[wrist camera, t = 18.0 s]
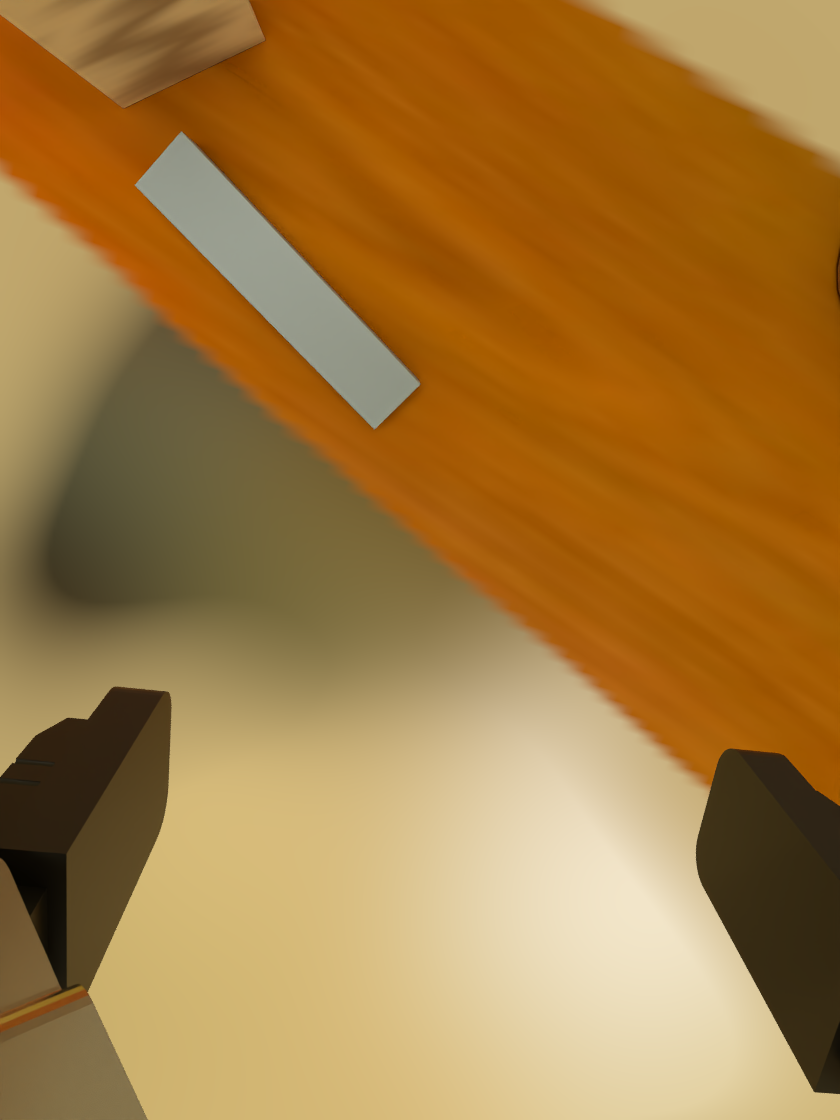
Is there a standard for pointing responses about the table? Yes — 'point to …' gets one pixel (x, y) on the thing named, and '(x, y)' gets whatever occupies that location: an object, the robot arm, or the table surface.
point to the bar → (276, 279)
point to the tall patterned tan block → (137, 39)
